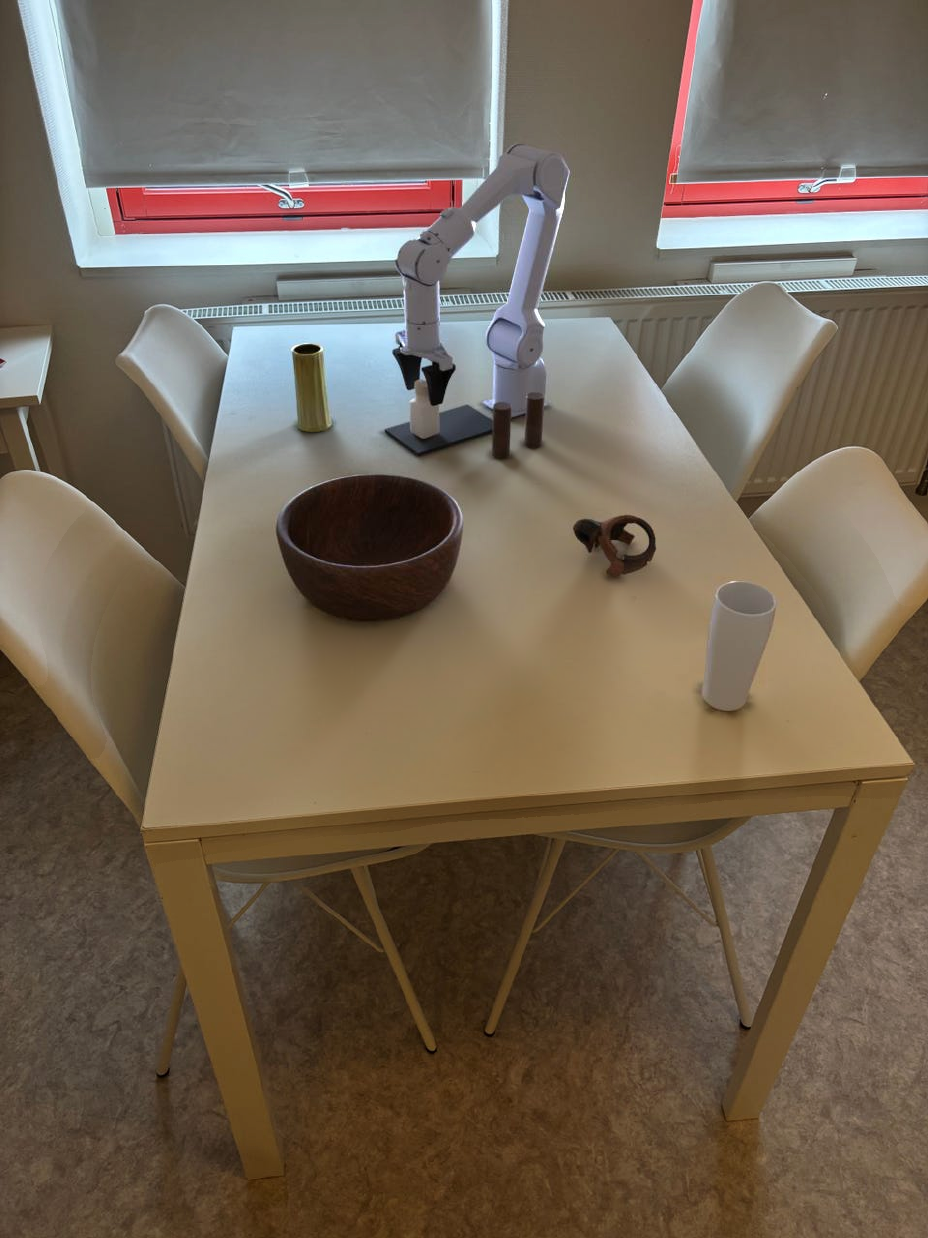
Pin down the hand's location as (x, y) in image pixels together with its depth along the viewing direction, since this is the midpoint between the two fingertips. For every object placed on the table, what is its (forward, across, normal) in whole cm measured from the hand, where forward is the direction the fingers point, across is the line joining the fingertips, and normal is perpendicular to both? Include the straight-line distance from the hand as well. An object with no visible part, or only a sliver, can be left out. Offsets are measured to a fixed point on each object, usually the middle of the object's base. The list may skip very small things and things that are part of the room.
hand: (424, 396), depth 165 cm
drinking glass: (+8, +78, -8) cm, 79 cm away
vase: (+8, -15, -14) cm, 22 cm away
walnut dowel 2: (+8, +13, +14) cm, 21 cm away
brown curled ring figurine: (+8, +48, +1) cm, 49 cm away
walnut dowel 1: (+8, +13, +7) cm, 17 cm away
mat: (+8, 0, +4) cm, 9 cm away
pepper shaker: (+7, 0, 0) cm, 7 cm away
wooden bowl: (+8, +33, -30) cm, 45 cm away
